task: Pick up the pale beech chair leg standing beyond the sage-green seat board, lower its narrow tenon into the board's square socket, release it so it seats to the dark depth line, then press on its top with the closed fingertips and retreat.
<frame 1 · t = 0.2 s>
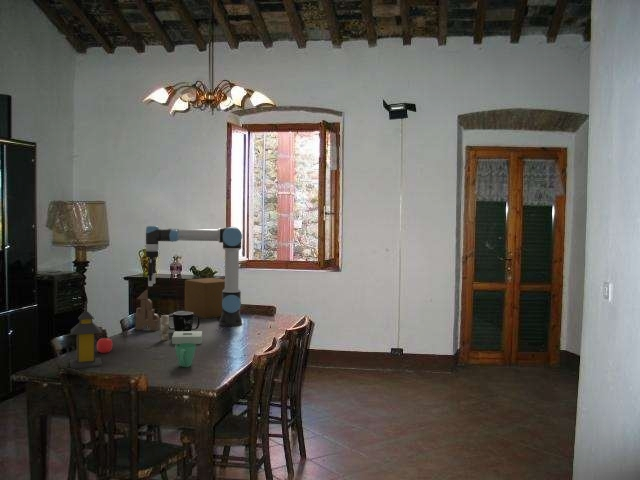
hand: (151, 284, 376), 28 cm above the table, fingers open, 13 cm apart
wood block: (208, 314, 436), on the table
lantern: (85, 364, 290), on the table
red rounded cube: (104, 352, 315), on the table
seat board: (187, 340, 345), on the table
mug 2: (183, 332, 369), on the table
mug: (184, 367, 287), on the table
leg: (164, 339, 347), on the table
wooden toy: (146, 329, 377), on the table
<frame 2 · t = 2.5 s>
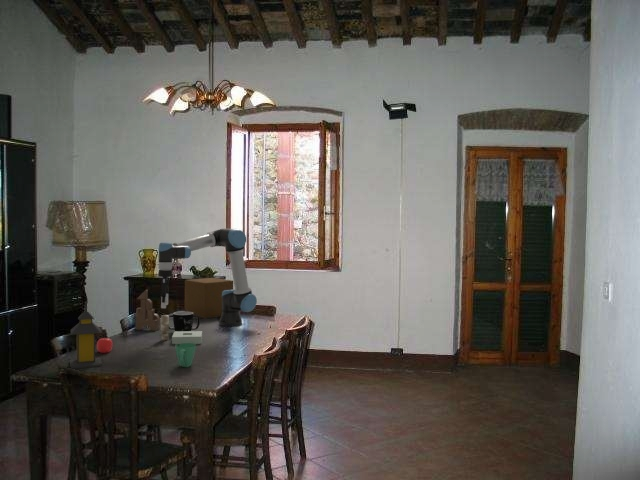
hand: (164, 306, 346), 19 cm above the table, fingers open, 13 cm apart
nothing on the table moved.
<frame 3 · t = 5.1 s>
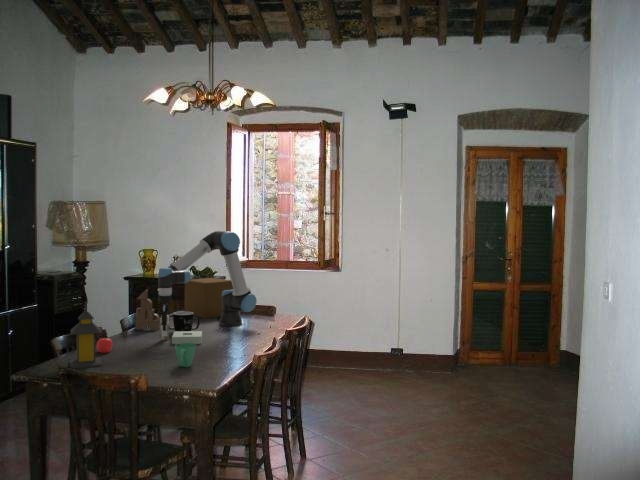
hand: (164, 335, 347), 3 cm above the table, fingers closed on leg, 4 cm apart
leg: (164, 339, 347), on the table, touching gripper
everything else where it was.
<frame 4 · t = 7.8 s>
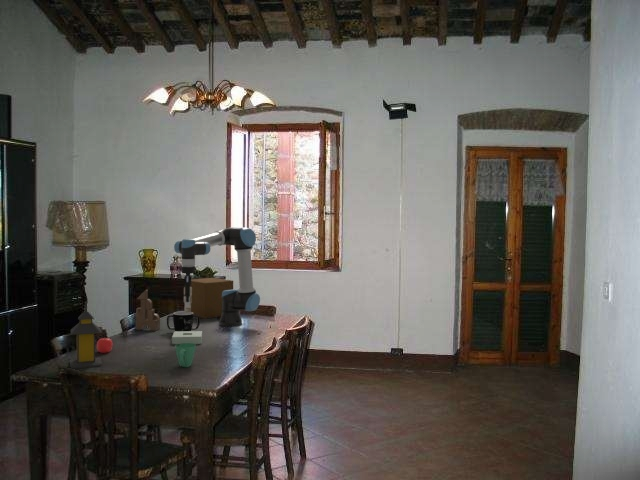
hand: (187, 306, 344), 20 cm above the table, fingers closed on leg, 4 cm apart
leg: (187, 311, 344), point 17 cm above the table, touching gripper
everything else where it was.
when the fingers open (5 cm above the table, at t = 10.9 s): leg drops 2 cm, resting in seat board.
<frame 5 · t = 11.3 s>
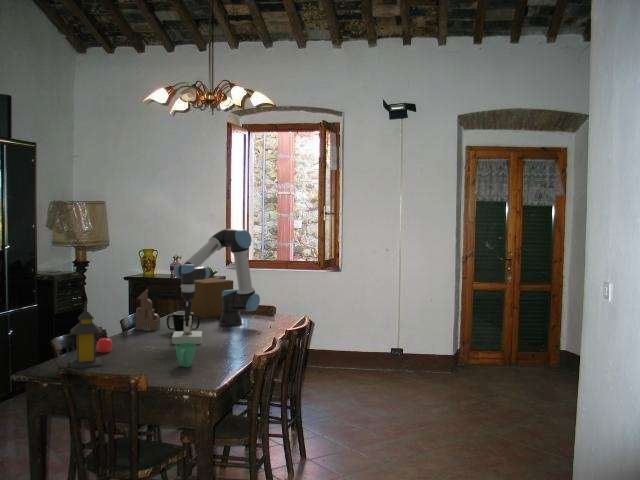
hand: (187, 330, 345), 6 cm above the table, fingers open, 10 cm apart
leg: (187, 340, 345), resting in seat board
everything else where it was.
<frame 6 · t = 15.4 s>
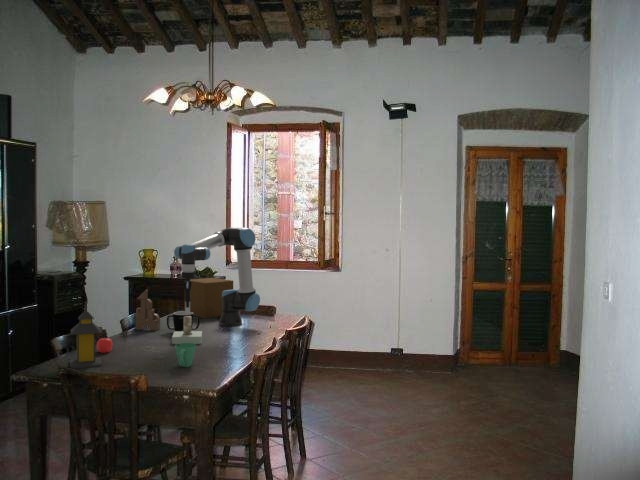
hand: (187, 312, 344), 16 cm above the table, fingers closed
nothing on the table moved.
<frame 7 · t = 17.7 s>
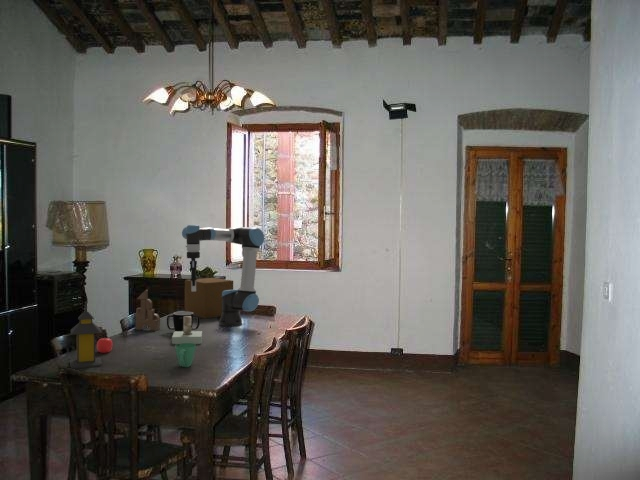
hand: (193, 291, 355), 27 cm above the table, fingers closed
nothing on the table moved.
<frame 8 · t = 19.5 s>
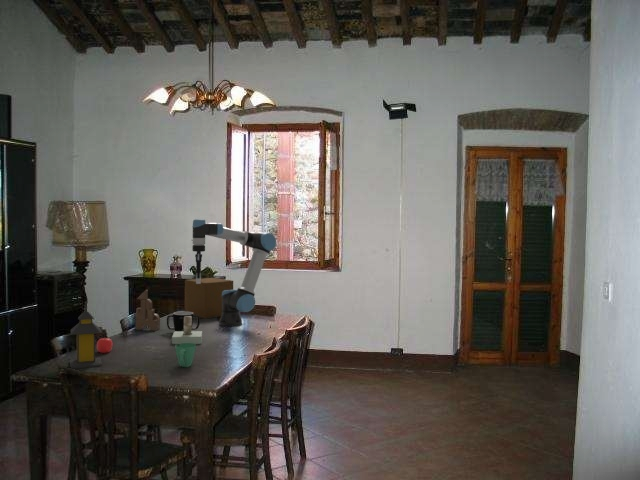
hand: (198, 283, 366), 30 cm above the table, fingers closed
nothing on the table moved.
at the end: leg 0.1 cm off-centre on the seat board, point 0.0 cm above the seat board's base; leg tilted 1°; the gripper is holding nothing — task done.
